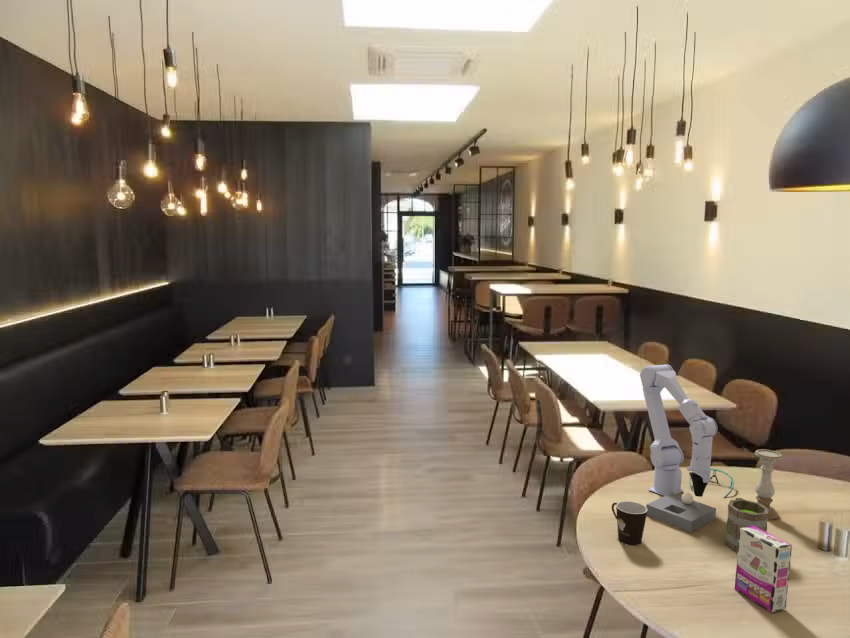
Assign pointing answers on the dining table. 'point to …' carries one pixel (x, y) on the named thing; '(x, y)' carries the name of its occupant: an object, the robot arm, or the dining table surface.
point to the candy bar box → (763, 568)
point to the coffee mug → (630, 521)
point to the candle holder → (767, 480)
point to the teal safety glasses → (717, 480)
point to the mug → (743, 519)
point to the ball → (687, 498)
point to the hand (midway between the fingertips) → (698, 495)
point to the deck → (681, 512)
